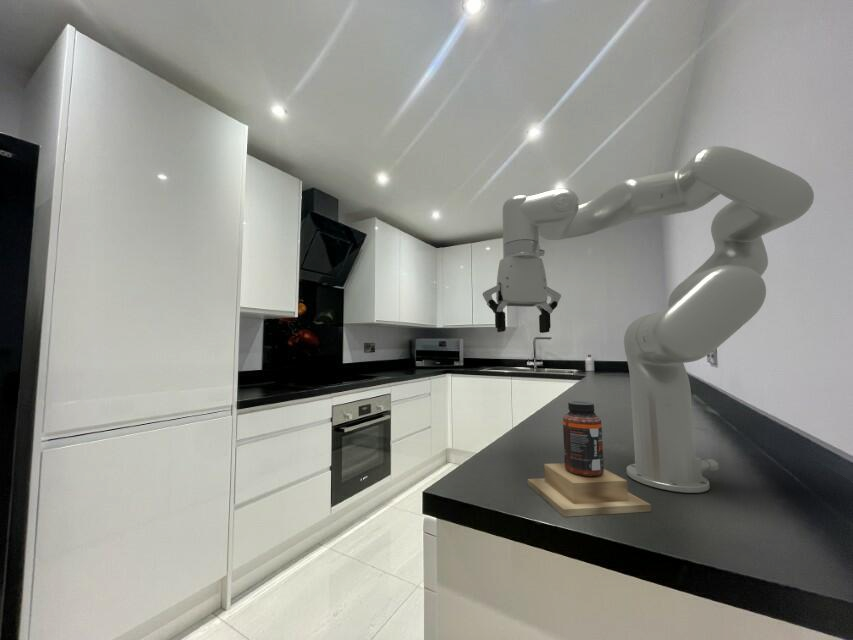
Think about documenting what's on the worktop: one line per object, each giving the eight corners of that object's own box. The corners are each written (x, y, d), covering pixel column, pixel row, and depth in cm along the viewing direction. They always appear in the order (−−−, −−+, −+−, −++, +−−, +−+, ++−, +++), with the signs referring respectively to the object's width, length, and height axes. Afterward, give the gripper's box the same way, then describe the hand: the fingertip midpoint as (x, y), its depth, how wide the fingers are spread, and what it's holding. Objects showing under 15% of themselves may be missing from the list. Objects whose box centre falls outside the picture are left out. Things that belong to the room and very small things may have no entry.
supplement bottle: (609, 479, 51) (605, 405, 53) (569, 476, 52) (566, 404, 54) (597, 466, 57) (594, 400, 58) (561, 464, 58) (559, 399, 60)
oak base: (599, 481, 61) (597, 459, 62) (651, 511, 49) (649, 483, 50) (527, 484, 59) (527, 461, 60) (564, 516, 47) (563, 487, 48)
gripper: (549, 260, 76) (552, 333, 75) (477, 257, 74) (478, 332, 72) (567, 250, 69) (570, 331, 67) (488, 246, 67) (489, 329, 65)
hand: (523, 332), depth 70 cm, fingers open, 9 cm apart
